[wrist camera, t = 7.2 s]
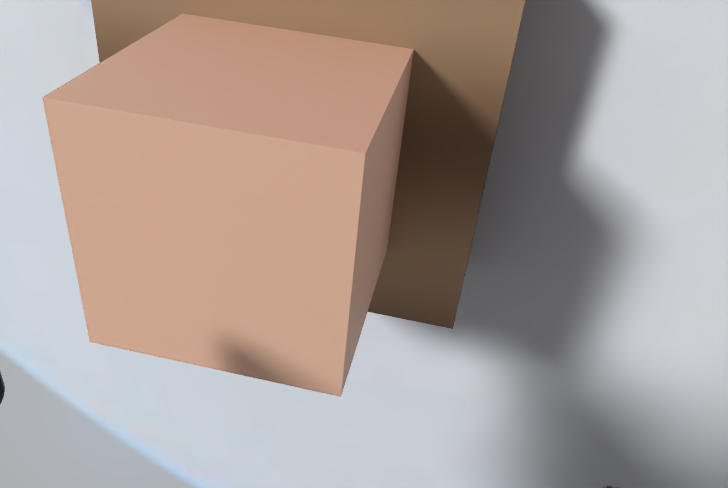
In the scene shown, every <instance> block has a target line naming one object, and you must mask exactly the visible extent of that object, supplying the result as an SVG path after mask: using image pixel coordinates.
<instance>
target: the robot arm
mask: <svg viewBox="0 0 728 488" xmlns="http://www.w3.org/2000/svg"><path fill="white" fill-rule="evenodd" d="M4 392H5V386H4V382H3V379H2V375H1V372H0V404H1V402H2V399H3V397H4ZM604 488H619V487H615V486H605V487H604Z"/></svg>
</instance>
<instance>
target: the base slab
mask: <svg viewBox="0 0 728 488" xmlns="http://www.w3.org/2000/svg"><path fill="white" fill-rule="evenodd" d="M91 2H92V9H93V17H94V24H95V31H96V39H97V46H98V53H99V60H100V63H101V62H102V61H104V60H106V59H107V58H109V57H111V56H112V55H114V54H116V53H117V52H119V51H121V50H123V49H124V48H126V47H128V46H129V45H131V44H133V43H134V42H136V41H138V40H139V39H141V38H143V37H144V36H146V35H148V34H149V33H151V32H153V31H154V30H156V29H158V28H159V27H161V26H163V25H164V24H166V23H168V22H169V21H171V20H173V19H174V18H176V17H178V16H179V15H181V14H189V15H195V16H202V17H208V18H215V19H221V20H228V21H234V22H241V23H247V24H254V25H260V26H267V27H273V28H280V29H286V30H293V31H299V32H306V33H312V34H319V35H325V36H332V37H338V38H345V39H351V40H358V41H364V42H371V43H377V44H384V45H390V46H397V47H403V48H410V49H414V51H413V59H412V66H411V74H410V81H409V89H408V96H407V104H406V111H405V119H404V126H403V134H402V141H401V149H400V156H399V164H398V171H397V179H396V186H395V194H394V201H393V208H392V216H391V223H390V231H389V238H388V246H387V251H386V254H385V257H384V261H383V264H382V267H381V270H380V273H379V276H378V280H377V283H376V286H375V289H374V292H373V296H372V299H371V302H370V305H369V308H368V312H373V313H378V314H383V315H388V316H392V317H397V318H402V319H407V320H412V321H417V322H422V323H427V324H432V325H437V326H442V327H447V328H452V329H453V325H454V321H455V316H456V312H457V307H458V303H459V298H460V294H461V289H462V285H463V280H464V276H465V271H466V266H467V262H468V257H469V253H470V248H471V244H472V239H473V235H474V230H475V226H476V221H477V217H478V212H479V208H480V203H481V199H482V194H483V190H484V185H485V181H486V176H487V172H488V167H489V163H490V158H491V154H492V149H493V145H494V140H495V135H496V131H497V126H498V122H499V117H500V113H501V108H502V104H503V99H504V95H505V90H506V86H507V81H508V77H509V72H510V68H511V63H512V59H513V54H514V50H515V45H516V41H517V36H518V32H519V27H520V23H521V18H522V13H523V9H524V4H525V0H91Z"/></svg>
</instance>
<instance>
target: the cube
mask: <svg viewBox="0 0 728 488" xmlns="http://www.w3.org/2000/svg"><path fill="white" fill-rule="evenodd" d="M413 51H414V49H410V48H403V47H397V46H390V45H384V44H377V43H371V42H364V41H358V40H351V39H345V38H338V37H332V36H325V35H319V34H312V33H306V32H299V31H293V30H286V29H280V28H273V27H267V26H260V25H254V24H247V23H241V22H234V21H228V20H221V19H215V18H208V17H202V16H195V15H189V14H181V15H179V16H178V17H176V18H174V19H173V20H171V21H169V22H168V23H166V24H164V25H163V26H161V27H159V28H158V29H156V30H154V31H153V32H151V33H149V34H148V35H146V36H144V37H143V38H141V39H139V40H138V41H136V42H134V43H133V44H131V45H129V46H128V47H126V48H124V49H123V50H121V51H119V52H117V53H116V54H114V55H112V56H111V57H109V58H107V59H106V60H104V61H102V62H101V63H99V64H97V65H96V66H94V67H92V68H91V69H89V70H87V71H86V72H84V73H82V74H81V75H79V76H77V77H76V78H74V79H72V80H71V81H69V82H67V83H66V84H64V85H62V86H61V87H59V88H57V89H56V90H54V91H52V92H51V93H49V94H47V95H45V96H44V97H42V98H43V103H44V108H45V113H46V118H47V124H48V129H49V134H50V139H51V144H52V149H53V154H54V160H55V165H56V170H57V175H58V180H59V185H60V191H61V196H62V201H63V206H64V211H65V216H66V221H67V227H68V232H69V237H70V242H71V247H72V252H73V257H74V263H75V268H76V273H77V278H78V283H79V288H80V293H81V299H82V304H83V309H84V314H85V319H86V324H87V329H88V335H89V340H90V342H93V343H98V344H102V345H107V346H112V347H116V348H121V349H125V350H130V351H134V352H139V353H144V354H148V355H153V356H157V357H162V358H166V359H171V360H176V361H180V362H185V363H189V364H194V365H198V366H203V367H208V368H212V369H217V370H221V371H226V372H231V373H235V374H240V375H244V376H249V377H253V378H258V379H263V380H267V381H272V382H276V383H281V384H285V385H290V386H295V387H299V388H304V389H308V390H313V391H317V392H322V393H327V394H331V395H336V396H340V397H341V394H342V391H343V388H344V385H345V382H346V378H347V375H348V372H349V369H350V366H351V362H352V359H353V356H354V353H355V350H356V347H357V343H358V340H359V337H360V334H361V331H362V327H363V324H364V321H365V318H366V315H367V311H368V308H369V305H370V302H371V299H372V296H373V292H374V289H375V286H376V283H377V280H378V276H379V273H380V270H381V267H382V264H383V261H384V257H385V254H386V251H387V246H388V238H389V231H390V223H391V216H392V208H393V201H394V194H395V186H396V179H397V171H398V164H399V156H400V149H401V141H402V134H403V126H404V119H405V111H406V104H407V96H408V89H409V81H410V74H411V66H412V59H413Z"/></svg>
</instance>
